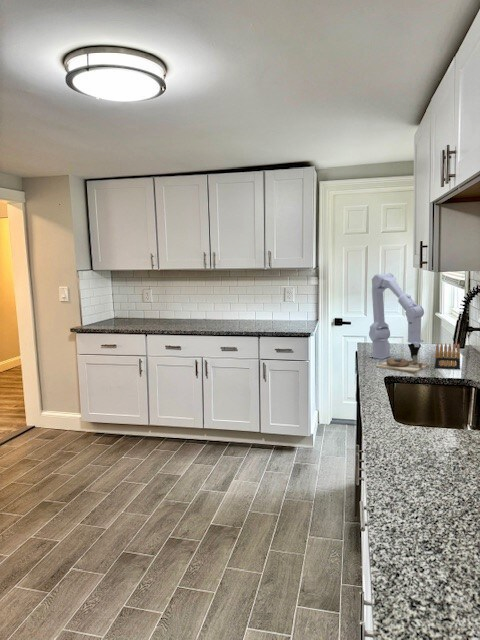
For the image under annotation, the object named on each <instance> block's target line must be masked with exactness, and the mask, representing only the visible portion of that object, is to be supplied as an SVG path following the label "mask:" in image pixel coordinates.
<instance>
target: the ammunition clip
mask: <svg viewBox="0 0 480 640" xmlns="http://www.w3.org/2000/svg"><path fill="white" fill-rule="evenodd" d="M435 346H436V347H435V351H434V352H435V353H434V356H435V357H434V359H435V360H434V369H439V370H442V369H443V370H461V352H460V351H461V350H460V348H461V346H460V344H459V343H457V345H456V344H455V343H453V345H451V343H449V344H448V346H447V342H446V343H445V344H444V345H443V343H442V342H441V343H440V346H439V343H438V342H437V343H436V345H435Z"/></svg>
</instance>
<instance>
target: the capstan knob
mask: <svg viewBox="0 0 480 640" xmlns="http://www.w3.org/2000/svg"><path fill="white" fill-rule="evenodd" d="M386 361H387V365H390V366H397V367H402V366H408V365H409V363H413V364H417V363H418V355H413V359H412V360H408V359H405V358H389V359H387V360H386Z"/></svg>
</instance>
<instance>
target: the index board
mask: <svg viewBox="0 0 480 640" xmlns="http://www.w3.org/2000/svg"><path fill="white" fill-rule="evenodd" d="M375 367H376V368H377V369H383V370H391V371H396V372H397V371H398V372H402V373H408V374H416V373H418V372H421V371H422V370H426V369H427V368H430V364H427V363H423V362H417V364H413V363H409V365H408V366H402V367H397V366H390V365H387V360H386V361H383V362H381V363H378V364H376V365H375Z"/></svg>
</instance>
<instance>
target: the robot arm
mask: <svg viewBox="0 0 480 640" xmlns="http://www.w3.org/2000/svg"><path fill="white" fill-rule="evenodd" d="M371 286H372V287H371V299H372V314H373V316H372V317H373V323H372V324H371V325H370V326H369V331H368V337H369V339H370V340H371V341H372V344H371V345H372V349H371V351H372V354H371V355H369V356H368V357H369V358H372V357H373V359H380V360H383V359H386V358H389V357H392V354H391V350H390V349H391V343H390V342H389V339H390V337H391V331H390V329H389V324H388V323H387V322H386V321H385V303H384V292H385V290H386V289H389V290H390V291H391V292H392V293H393V294H394V295H395V296H396V297H397V298H398V300H397V301H398V302H397V303H399V305H400V306H401V307H402V308H403V309H404V311H405V313H404V314H405V316H406V320H407V343H408V344H407V346H408V348H409V351H410V352H409V353H410V358H411V359H412V360H413V355H417V356H418V355H419V352H420V351H419V350H420V348H421V347H422V345H421V343H423V342H424V339H422V317H423V316H424V314H425V311H424V307H423V306H422V305H418V303H416V302H415V301H414V300H413V298H411V297H412V296H411V295H410V294H407V293H406V294H405V292H404V291H403V290H402V288H401V287H400V286H399V283H397V278H396V277H395V276H394V274H392V273H382V274H381V273H380V274H379V273H376V274H374V275H373V277H372V278H371Z"/></svg>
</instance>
